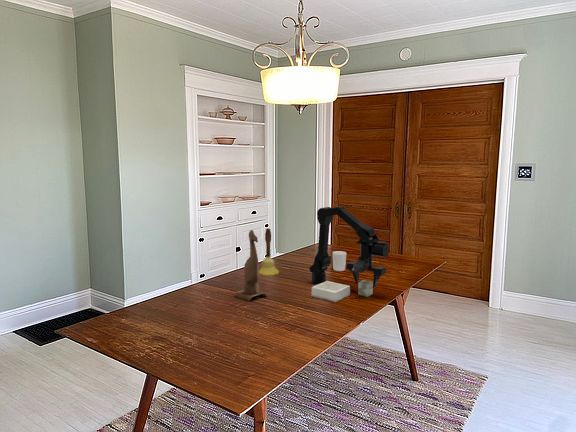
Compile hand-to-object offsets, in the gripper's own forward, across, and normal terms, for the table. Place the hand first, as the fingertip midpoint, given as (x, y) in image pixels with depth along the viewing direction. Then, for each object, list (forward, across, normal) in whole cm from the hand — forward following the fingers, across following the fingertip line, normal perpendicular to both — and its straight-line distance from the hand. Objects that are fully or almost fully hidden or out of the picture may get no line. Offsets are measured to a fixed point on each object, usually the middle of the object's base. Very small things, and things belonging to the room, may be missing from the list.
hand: (365, 285), depth 207 cm
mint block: (+4, 0, 0) cm, 4 cm away
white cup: (+4, -33, +29) cm, 44 cm away
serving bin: (+4, -11, -12) cm, 17 cm away
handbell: (+4, -61, -1) cm, 61 cm away
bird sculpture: (+4, -40, -37) cm, 55 cm away
